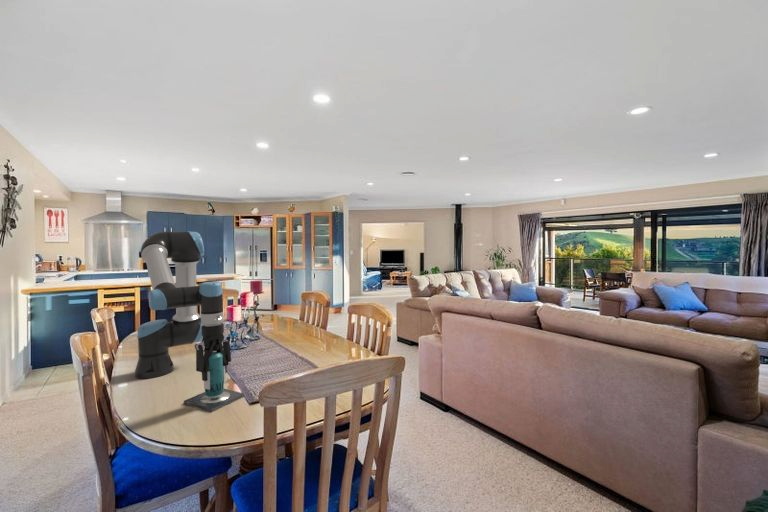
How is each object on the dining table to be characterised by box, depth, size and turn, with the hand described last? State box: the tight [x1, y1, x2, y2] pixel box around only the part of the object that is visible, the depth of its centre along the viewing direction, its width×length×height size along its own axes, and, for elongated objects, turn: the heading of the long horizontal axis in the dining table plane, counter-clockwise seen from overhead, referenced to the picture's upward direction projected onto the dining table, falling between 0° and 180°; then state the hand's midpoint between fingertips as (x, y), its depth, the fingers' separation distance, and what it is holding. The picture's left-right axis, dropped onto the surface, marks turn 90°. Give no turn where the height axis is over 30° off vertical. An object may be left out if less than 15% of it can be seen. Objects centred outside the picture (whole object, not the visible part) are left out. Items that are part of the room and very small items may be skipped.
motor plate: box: [183, 388, 245, 413], centre depth 138 cm, size 16×14×1 cm
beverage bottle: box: [204, 344, 225, 397], centre depth 137 cm, size 6×7×20 cm
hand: (215, 385), depth 138 cm, fingers closed on beverage bottle, 6 cm apart
